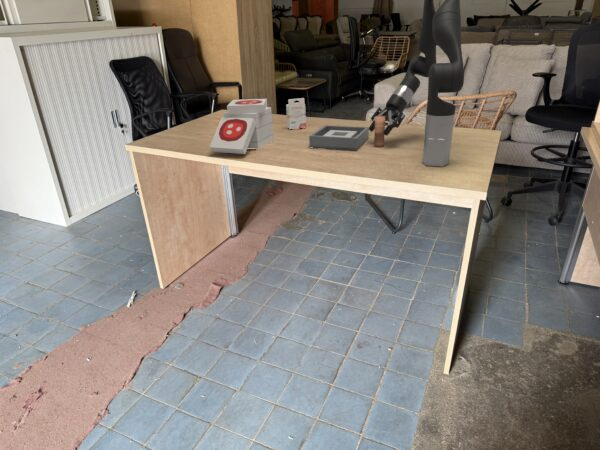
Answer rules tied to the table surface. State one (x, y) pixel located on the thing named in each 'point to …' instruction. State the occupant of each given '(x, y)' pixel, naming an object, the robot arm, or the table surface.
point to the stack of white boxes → (243, 127)
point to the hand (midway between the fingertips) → (377, 132)
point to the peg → (379, 131)
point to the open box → (339, 137)
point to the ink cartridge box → (296, 113)
